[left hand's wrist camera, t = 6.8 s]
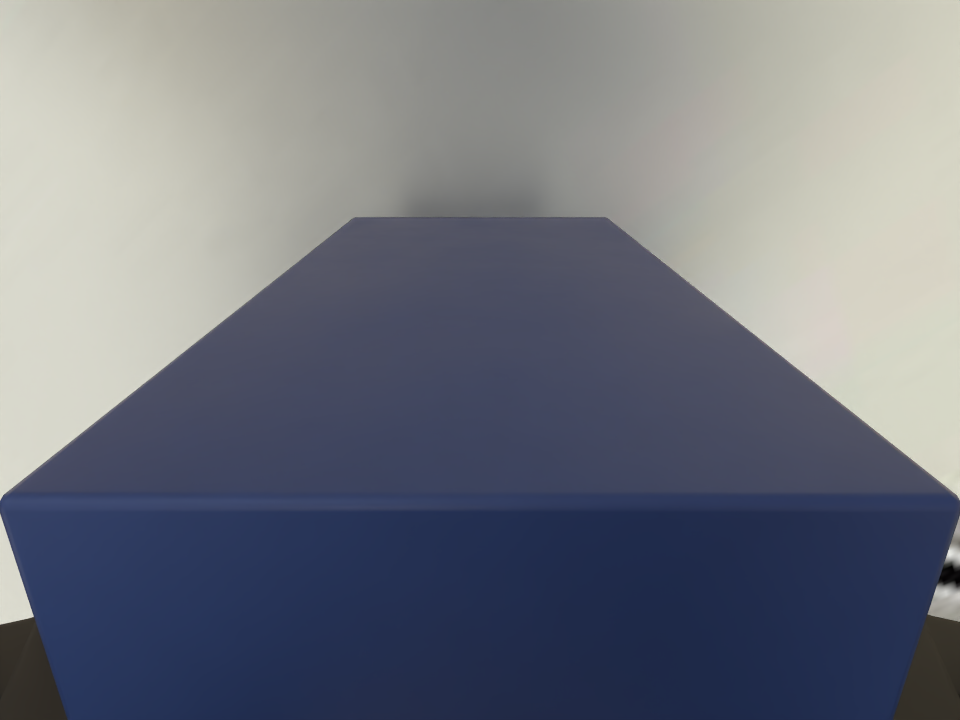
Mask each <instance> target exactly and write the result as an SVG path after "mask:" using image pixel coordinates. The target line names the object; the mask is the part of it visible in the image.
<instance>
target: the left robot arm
mask: <svg viewBox="0 0 960 720" xmlns="http://www.w3.org/2000/svg"><path fill="white" fill-rule="evenodd" d="M0 720H68V719H67V716H66V713H65V710H64V707H63V704H62V701H61V698H60V695H59V692H58V689H57V685H56V682H55V679H54V676H53V673H52V670H51V667H50V664H49V661H48V658H47V655H46V652H45V649H44V646H43V643H42V640H41V636H40V633H39V630H38V627H37V624H36V621H35V618H34V617H32V618H29V619H25V620H20V621H15V622H11V623H6V624H2V625H0ZM893 720H960V622H958V621H953V620H948V619H944V618H939V617H935V616H931V615H927V617H926V620H925V623H924V626H923V629H922V632H921V635H920V638H919V641H918V644H917V647H916V650H915V653H914V657H913V660H912V663H911V666H910V669H909V672H908V675H907V678H906V681H905V684H904V687H903V690H902V693H901V696H900V699H899V702H898V705H897V708H896V712H895V715H894V718H893Z"/></svg>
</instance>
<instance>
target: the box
mask: <svg viewBox="0 0 960 720" xmlns="http://www.w3.org/2000/svg"><path fill="white" fill-rule="evenodd" d="M0 514H1V517H2V520H3V523H4V526H5V529H6V532H7V535H8V538H9V541H10V545H11V548H12V551H13V554H14V557H15V560H16V563H17V566H18V569H19V572H20V575H21V578H22V581H23V584H24V587H25V590H26V594H27V597H28V600H29V603H30V606H31V609H32V612H33V615H34V618H35V621H36V624H37V627H38V630H39V633H40V636H41V640H42V643H43V646H44V649H45V652H46V655H47V658H48V661H49V664H50V667H51V670H52V673H53V676H54V679H55V682H56V685H57V689H58V692H59V695H60V698H61V701H62V704H63V707H64V710H65V713H66V716H67V719H68V720H893V718H894V715H895V712H896V708H897V705H898V702H899V699H900V696H901V693H902V690H903V687H904V684H905V681H906V678H907V675H908V672H909V669H910V666H911V663H912V660H913V657H914V653H915V650H916V647H917V644H918V641H919V638H920V635H921V632H922V629H923V626H924V623H925V620H926V617H927V614H928V611H929V608H930V605H931V601H932V598H933V595H934V592H935V589H936V586H937V583H938V580H939V577H940V574H941V571H942V568H943V565H944V562H945V559H946V556H947V553H948V550H949V546H950V543H951V540H952V537H953V534H954V531H955V528H956V525H957V522H958V519H959V516H960V500H959V498H958V497H957V495H956V494H954V493H953V492H952V491H951V490H949V489H948V488H947V487H946V486H944V485H943V484H942V483H940V482H939V481H938V480H937V479H935V478H934V477H933V476H932V475H930V474H929V473H928V472H927V471H925V470H924V469H923V468H922V467H920V466H919V465H918V464H917V463H915V462H914V461H913V460H911V459H910V458H909V457H908V456H906V455H905V454H904V453H903V452H901V451H900V450H899V449H898V448H896V447H895V446H894V445H893V444H891V443H890V442H889V441H888V440H886V439H885V438H884V437H883V436H881V435H880V434H879V433H877V432H876V431H875V430H874V429H872V428H871V427H870V426H869V425H867V424H866V423H865V422H864V421H862V420H861V419H860V418H859V417H857V416H856V415H855V414H854V413H852V412H851V411H850V410H848V409H847V408H846V407H845V406H843V405H842V404H841V403H840V402H838V401H837V400H836V399H835V398H833V397H832V396H831V395H830V394H828V393H827V392H826V391H825V390H823V389H822V388H821V387H819V386H818V385H817V384H816V383H814V382H813V381H812V380H811V379H809V378H808V377H807V376H806V375H804V374H803V373H802V372H801V371H799V370H798V369H797V368H796V367H794V366H793V365H792V364H791V363H789V362H788V361H787V360H785V359H784V358H783V357H782V356H780V355H779V354H778V353H777V352H775V351H774V350H773V349H772V348H770V347H769V346H768V345H767V344H765V343H764V342H763V341H762V340H760V339H759V338H758V337H756V336H755V335H754V334H753V333H751V332H750V331H749V330H748V329H746V328H745V327H744V326H743V325H741V324H740V323H739V322H738V321H736V320H735V319H734V318H733V317H731V316H730V315H729V314H727V313H726V312H725V311H724V310H722V309H721V308H720V307H719V306H717V305H716V304H715V303H714V302H712V301H711V300H710V299H709V298H707V297H706V296H705V295H704V294H702V293H701V292H700V291H698V290H697V289H696V288H695V287H693V286H692V285H691V284H690V283H688V282H687V281H686V280H685V279H683V278H682V277H681V276H680V275H678V274H677V273H676V272H675V271H673V270H672V269H671V268H670V267H668V266H667V265H666V264H664V263H663V262H662V261H661V260H659V259H658V258H657V257H656V256H654V255H653V254H652V253H651V252H649V251H648V250H647V249H646V248H644V247H643V246H642V245H641V244H639V243H638V242H637V241H635V240H634V239H633V238H632V237H630V236H629V235H628V234H627V233H625V232H624V231H623V230H622V229H620V228H619V227H618V226H617V225H615V224H614V223H613V222H612V221H610V220H609V219H608V218H605V217H355V218H353V219H352V220H350V221H349V222H348V223H347V224H345V225H344V226H343V227H342V228H340V229H339V230H338V231H337V232H335V233H334V234H333V235H331V236H330V237H329V238H328V239H326V240H325V241H324V242H323V243H321V244H320V245H319V246H318V247H316V248H315V249H314V250H313V251H311V252H310V253H309V254H307V255H306V256H305V257H304V258H302V259H301V260H300V261H299V262H297V263H296V264H295V265H294V266H292V267H291V268H290V269H289V270H287V271H286V272H285V273H283V274H282V275H281V276H280V277H278V278H277V279H276V280H275V281H273V282H272V283H271V284H270V285H268V286H267V287H266V288H265V289H263V290H262V291H261V292H259V293H258V294H257V295H256V296H254V297H253V298H252V299H251V300H249V301H248V302H247V303H246V304H244V305H243V306H242V307H241V308H239V309H238V310H237V311H235V312H234V313H233V314H232V315H230V316H229V317H228V318H227V319H225V320H224V321H223V322H222V323H220V324H219V325H218V326H217V327H215V328H214V329H213V330H211V331H210V332H209V333H208V334H206V335H205V336H204V337H203V338H201V339H200V340H199V341H198V342H196V343H195V344H194V345H193V346H191V347H190V348H189V349H187V350H186V351H185V352H184V353H182V354H181V355H180V356H179V357H177V358H176V359H175V360H174V361H172V362H171V363H170V364H169V365H167V366H166V367H165V368H163V369H162V370H161V371H160V372H158V373H157V374H156V375H155V376H153V377H152V378H151V379H150V380H148V381H147V382H146V383H145V384H143V385H142V386H141V387H139V388H138V389H137V390H136V391H134V392H133V393H132V394H131V395H129V396H128V397H127V398H126V399H124V400H123V401H122V402H121V403H119V404H118V405H117V406H115V407H114V408H113V409H112V410H110V411H109V412H108V413H107V414H105V415H104V416H103V417H102V418H100V419H99V420H98V421H97V422H95V423H94V424H93V425H91V426H90V427H89V428H88V429H86V430H85V431H84V432H83V433H81V434H80V435H79V436H78V437H76V438H75V439H74V440H73V441H71V442H70V443H69V444H67V445H66V446H65V447H64V448H62V449H61V450H60V451H59V452H57V453H56V454H55V455H54V456H52V457H51V458H50V459H49V460H47V461H46V462H45V463H43V464H42V465H41V466H40V467H38V468H37V469H36V470H35V471H33V472H32V473H31V474H30V475H28V476H27V477H26V478H25V479H23V480H22V481H21V482H19V483H18V484H17V485H16V486H14V487H13V488H12V489H11V490H9V491H8V492H7V493H6V494H4V495H3V497H2V499H1V501H0Z"/></svg>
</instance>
